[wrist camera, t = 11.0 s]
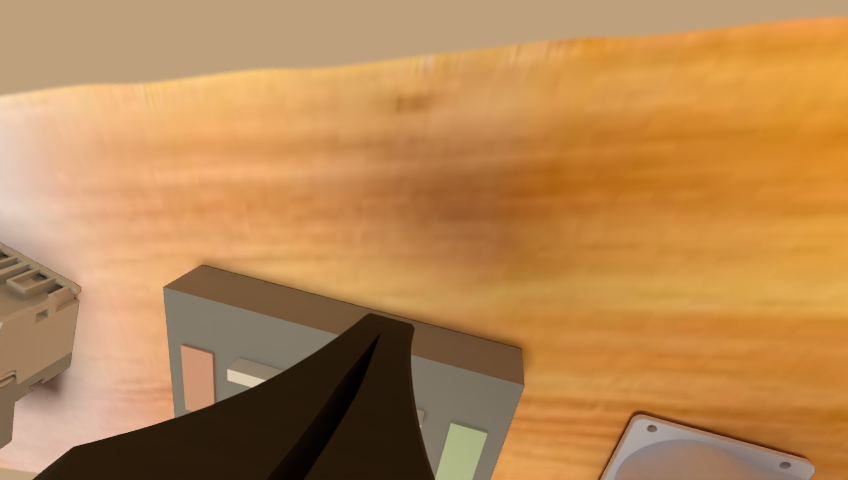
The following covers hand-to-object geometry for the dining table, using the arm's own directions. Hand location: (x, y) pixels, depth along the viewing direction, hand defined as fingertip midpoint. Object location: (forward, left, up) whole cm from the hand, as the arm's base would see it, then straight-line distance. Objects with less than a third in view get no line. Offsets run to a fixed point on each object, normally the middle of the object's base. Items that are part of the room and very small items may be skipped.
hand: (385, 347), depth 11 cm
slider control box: (+4, +12, -10) cm, 16 cm away
